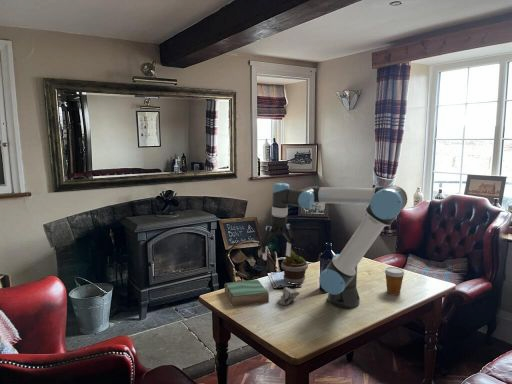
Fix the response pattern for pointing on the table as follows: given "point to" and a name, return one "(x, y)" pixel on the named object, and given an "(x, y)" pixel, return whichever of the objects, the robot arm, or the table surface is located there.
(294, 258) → the flowerpot
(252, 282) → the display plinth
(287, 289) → the mineral specimen
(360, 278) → the table surface
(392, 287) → the disposable coffee cup
